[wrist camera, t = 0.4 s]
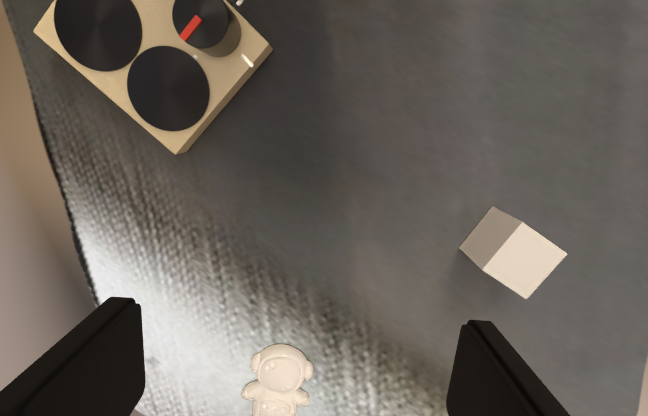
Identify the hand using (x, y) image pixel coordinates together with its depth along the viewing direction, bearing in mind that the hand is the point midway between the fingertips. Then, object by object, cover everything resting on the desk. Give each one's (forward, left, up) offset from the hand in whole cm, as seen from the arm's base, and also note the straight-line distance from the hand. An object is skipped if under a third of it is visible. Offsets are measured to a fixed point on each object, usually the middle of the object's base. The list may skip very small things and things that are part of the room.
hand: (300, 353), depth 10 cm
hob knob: (-4, -16, -26) cm, 31 cm away
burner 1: (+3, -24, -26) cm, 35 cm away
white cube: (-9, +20, -29) cm, 37 cm away
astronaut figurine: (+23, +15, -29) cm, 40 cm away
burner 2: (+3, -16, -26) cm, 31 cm away
